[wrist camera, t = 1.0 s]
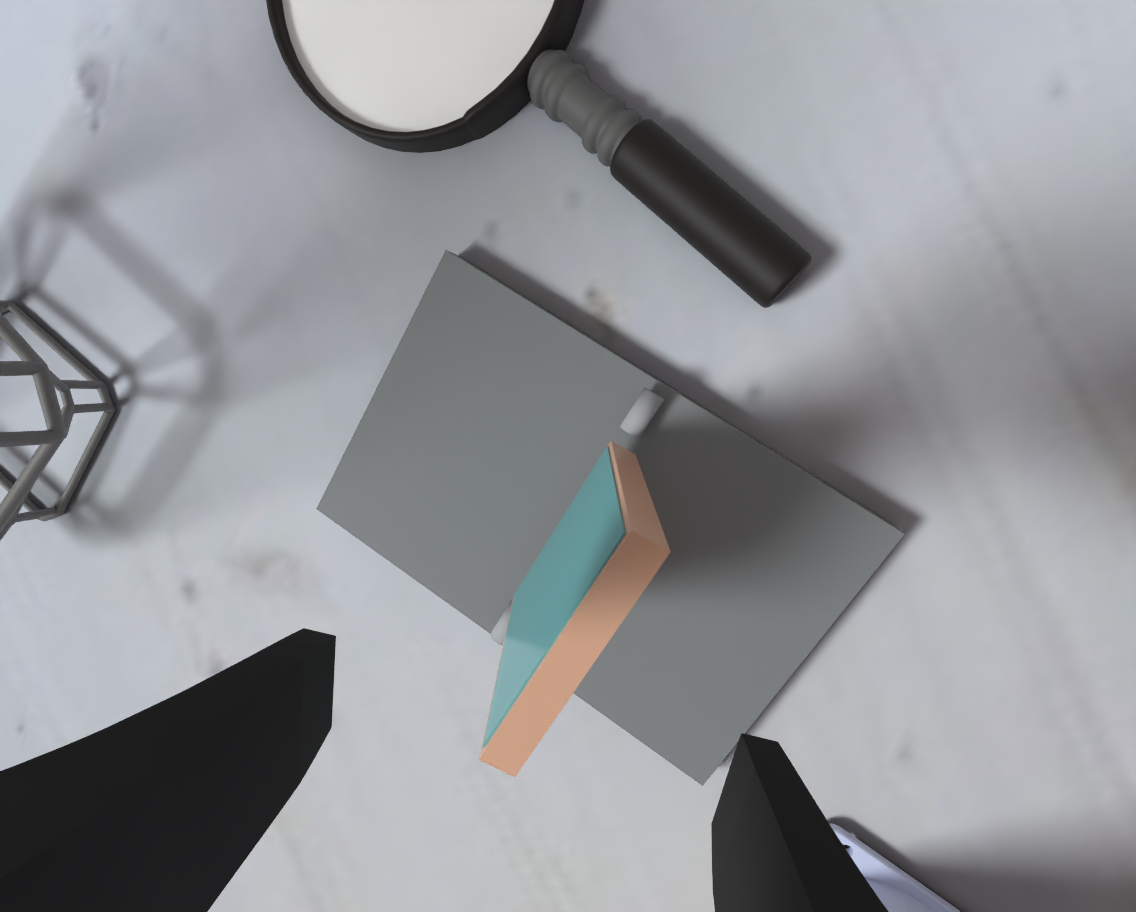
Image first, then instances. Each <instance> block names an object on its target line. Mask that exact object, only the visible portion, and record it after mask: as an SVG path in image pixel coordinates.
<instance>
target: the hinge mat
mask: <svg viewBox="0 0 1136 912" xmlns="http://www.w3.org/2000/svg"><path fill="white" fill-rule="evenodd" d="M610 441H613V442H614V443H616V444H618V445H620V446H621V447H623V448H625V449H627V450H628V451H630V452H632V453H633V454H635V455H636V457H637V460H638V463H639V466H640V468H641V471H642V474H643V477H644V480H645V482H646V485H647V488H648V491H649V493H650V496H651V499H652V502H653V504H654V507H655V510H656V513H657V515H658V518H659V521H660V524H661V526H662V529H663V532H664V535H665V538H666V540H667V543H668V546H669V549H670V551H671V552H670V553H669V555H668V556H667V558H666V559H665V561H664V562H663V564H662V565H661V567H660V568H659V569H658V571H657V572H656V574H655V575H654V577H653V578H652V580H651V581H650V582H649V584H648V585H647V587H646V588H645V590H644V591H643V593H642V594H641V595H640V597H639V598H638V600H637V601H636V603H635V604H634V606H633V607H632V609H631V610H630V611H629V613H628V614H627V616H626V617H625V619H624V620H623V622H622V623H621V624H620V626H619V627H618V629H617V630H616V632H615V633H614V635H613V636H612V637H611V639H610V640H609V642H608V643H607V645H606V646H605V648H604V649H603V650H602V652H601V653H600V655H599V656H598V658H597V659H596V661H595V662H594V664H593V665H592V666H591V668H590V669H589V671H588V672H587V674H586V675H585V677H584V678H583V679H582V681H581V682H580V684H579V685H578V687H577V688H576V690H575V691H574V692H573V693H574V694H575V695H577V696H578V697H580V698H581V699H582V700H584V701H585V702H587V703H588V704H589V705H591V706H592V707H594V708H595V709H596V710H598V711H599V712H600V713H602V714H603V715H605V716H606V717H607V718H609V719H610V720H612V721H613V722H614V723H616V724H617V725H619V726H620V727H621V728H623V729H624V730H626V731H627V732H628V733H630V734H631V735H633V736H634V737H635V738H637V739H638V740H640V741H641V742H642V743H644V744H645V745H647V746H648V747H649V748H651V749H652V750H654V751H655V752H656V753H658V754H659V755H660V756H662V757H663V758H665V759H666V760H667V761H669V762H670V763H672V764H673V765H674V766H676V767H677V768H679V769H680V770H681V771H683V772H684V773H686V774H687V775H688V776H690V777H691V778H693V779H694V780H695V781H697V782H698V783H700V784H701V785H702V786H703V785H704V783H705V782H706V781H707V780H708V778H709V777H710V776H711V775H712V774H713V772H714V771H715V770H716V769H717V767H718V766H719V765H720V764H721V762H722V761H723V760H724V759H725V757H726V756H727V755H728V754H729V752H730V751H731V750H732V749H733V747H734V746H735V745H736V744H737V742H738V741H739V738H740V735H741V733H743V734H745V732H746V731H747V730H748V729H749V727H750V726H751V725H752V724H753V722H754V721H755V720H756V719H757V717H758V716H759V715H760V714H761V712H762V711H763V710H764V709H765V707H766V706H767V705H768V704H769V702H770V701H771V700H772V699H773V697H774V696H775V695H776V694H777V692H778V691H779V690H780V689H781V688H782V686H783V685H784V684H785V683H786V681H787V680H788V679H789V678H790V676H791V675H792V674H793V673H794V671H795V670H796V669H797V668H798V666H799V665H800V664H801V663H802V661H803V660H804V659H805V658H806V656H807V655H808V654H809V653H810V651H811V650H812V649H813V648H814V646H815V645H816V644H817V643H818V641H819V640H820V639H821V638H822V636H823V635H824V634H825V633H826V631H827V630H828V629H829V628H830V626H831V625H832V624H833V623H834V621H835V620H836V619H837V618H838V616H839V615H840V614H841V613H842V611H843V610H844V609H845V608H846V606H847V605H848V604H849V603H850V602H851V600H852V599H853V598H854V597H855V595H856V594H857V593H858V592H859V590H860V589H861V588H862V587H863V585H864V584H865V583H866V582H867V580H868V579H869V578H870V577H871V575H872V574H873V573H874V572H875V570H876V569H877V568H878V567H879V565H880V564H881V563H882V562H883V560H884V559H885V558H886V557H887V555H888V554H889V553H890V552H891V550H892V549H893V548H894V547H895V545H896V544H897V543H898V542H899V540H900V539H901V538H902V537H903V535H904V533H903V532H902V531H900V530H899V529H898V528H897V527H896V526H894V525H892V524H891V523H889V522H887V521H886V520H884V519H883V518H881V517H879V516H878V515H876V514H875V513H873V512H871V511H870V510H868V509H866V508H865V507H863V506H862V505H860V504H858V503H857V502H855V501H854V500H852V499H850V498H849V497H847V496H845V495H844V494H842V493H841V492H839V491H837V490H836V489H834V488H833V487H831V486H829V485H828V484H826V483H824V482H823V481H821V480H820V479H818V478H816V477H815V476H813V475H811V474H810V473H808V472H807V471H805V470H803V469H802V468H800V467H799V466H797V465H795V464H794V463H792V462H790V461H789V460H787V459H786V458H784V457H782V456H781V455H779V454H778V453H776V452H774V451H773V450H771V449H769V448H768V447H766V446H765V445H763V444H761V443H760V442H758V441H757V440H755V439H753V438H752V437H750V436H748V435H747V434H745V433H744V432H742V431H740V430H739V429H737V428H736V427H734V426H732V425H731V424H729V423H727V422H726V421H724V420H723V419H721V418H719V417H718V416H716V415H715V414H713V413H711V412H710V411H708V410H706V409H705V408H703V407H702V406H700V405H698V404H697V403H695V402H694V401H692V400H690V399H689V398H687V397H685V396H684V395H682V394H681V393H679V392H677V391H676V390H674V389H673V388H671V387H669V386H668V385H666V384H664V383H663V382H661V381H660V380H658V379H656V378H655V377H653V376H652V375H650V374H648V373H647V372H645V371H643V370H642V369H640V368H639V367H637V366H635V365H634V364H632V363H631V362H629V361H627V360H626V359H624V358H622V357H621V356H619V355H618V354H616V353H614V352H613V351H611V350H610V349H608V348H606V347H605V346H603V345H601V344H600V343H598V342H597V341H595V340H593V339H592V338H590V337H589V336H587V335H585V334H584V333H582V332H580V331H579V330H577V329H576V328H574V327H572V326H571V325H569V324H568V323H566V322H564V321H563V320H561V319H559V318H558V317H556V316H555V315H553V314H551V313H550V312H548V311H546V310H545V309H543V308H542V307H540V306H538V305H537V304H535V303H534V302H532V301H530V300H529V299H527V298H525V297H524V296H522V295H521V294H519V293H517V292H516V291H514V290H513V289H511V288H509V287H508V286H506V285H504V284H503V283H501V282H500V281H498V280H496V279H495V278H493V277H492V276H490V275H488V274H487V273H485V272H483V271H482V270H480V269H479V268H477V267H475V266H474V265H472V264H471V263H469V262H467V261H466V260H464V259H462V258H461V257H459V256H458V255H456V254H454V253H451V252H449V251H447V250H446V251H445V253H444V255H443V257H442V259H441V261H440V263H439V265H438V267H437V269H436V271H435V273H434V275H433V277H432V279H431V281H430V283H429V285H428V287H427V289H426V291H425V293H424V295H423V297H422V299H421V301H420V303H419V305H418V307H417V309H416V311H415V313H414V315H413V317H412V319H411V321H410V323H409V325H408V327H407V329H406V331H405V333H404V335H403V337H402V339H401V341H400V343H399V345H398V347H397V349H396V351H395V353H394V355H393V357H392V359H391V361H390V363H389V365H388V367H387V369H386V371H385V373H384V375H383V377H382V379H381V381H380V383H379V385H378V387H377V389H376V391H375V393H374V395H373V397H372V399H371V401H370V403H369V405H368V407H367V409H366V411H365V413H364V415H363V417H362V419H361V421H360V423H359V425H358V427H357V429H356V431H355V433H354V435H353V437H352V439H351V441H350V443H349V445H348V447H347V449H346V451H345V453H344V455H343V457H342V459H341V461H340V463H339V465H338V467H337V469H336V471H335V473H334V475H333V477H332V479H331V481H330V483H329V485H328V487H327V489H326V491H325V493H324V495H323V497H322V499H321V501H320V503H319V505H318V507H317V510H319V511H320V512H321V513H323V514H324V515H326V516H327V517H328V518H330V519H331V520H333V521H334V522H335V523H337V524H338V525H340V526H341V527H342V528H344V529H345V530H347V531H348V532H349V533H351V534H352V535H354V536H355V537H356V538H358V539H359V540H361V541H362V542H363V543H365V544H366V545H367V546H369V547H370V548H372V549H373V550H374V551H376V552H377V553H379V554H380V555H381V556H383V557H384V558H386V559H387V560H388V561H390V562H391V563H393V564H394V565H395V566H397V567H398V568H400V569H401V570H402V571H404V572H405V573H407V574H408V575H409V576H411V577H412V578H414V579H415V580H416V581H418V582H419V583H421V584H422V585H423V586H425V587H426V588H427V589H429V590H430V591H432V592H433V593H434V594H436V595H437V596H439V597H440V598H441V599H443V600H444V601H446V602H447V603H448V604H450V605H451V606H453V607H454V608H455V609H457V610H458V611H460V612H461V613H462V614H464V615H465V616H467V617H468V618H469V619H471V620H472V621H474V622H475V623H476V624H478V625H479V626H481V627H482V628H483V629H485V630H486V631H487V632H489V633H490V634H491V637H492V639H493V640H494V641H495V642H497V643H498V644H500V645H503V643H504V639H505V634H506V629H507V624H508V620H509V615H510V610H511V605H512V600H513V596H514V594H515V593H516V591H517V589H518V588H519V586H520V585H521V583H522V581H523V580H524V578H525V577H526V575H527V573H528V572H529V570H530V569H531V567H532V565H533V564H534V562H535V561H536V559H537V557H538V556H539V554H540V553H541V551H542V549H543V548H544V546H545V545H546V543H547V541H548V540H549V538H550V537H551V535H552V533H553V532H554V530H555V529H556V527H557V525H558V524H559V522H560V521H561V519H562V517H563V516H564V514H565V513H566V511H567V509H568V508H569V506H570V505H571V503H572V501H573V500H574V498H575V497H576V495H577V493H578V492H579V490H580V489H581V487H582V485H583V484H584V482H585V481H586V479H587V477H588V476H589V474H590V473H591V471H592V469H593V468H594V466H595V465H596V463H597V461H598V460H599V458H600V457H601V455H602V453H603V452H604V450H605V449H606V447H607V446H608V445H609V443H610Z"/></svg>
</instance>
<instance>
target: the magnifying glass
mask: <svg viewBox="0 0 1136 912" xmlns="http://www.w3.org/2000/svg"><path fill="white" fill-rule="evenodd" d="M266 2H267V8H268V14H269V19H270V23H271V27H272V30H273V34H274V38H275V40H276V43H277V45H278V48H279V50H280V53H281V55H282V58H283V60H284V62H285V64H286V65H287V67H288V69H289V71H290V73H291V75H292V76H293V78H294V79H295V81H296V82H297V83H298V85H299V86H300V88H301V89H302V90H303V92H304V93H305V94H306V95H307V96H308V97H309V98H310V99H311V100H312V102H313V103H314V104H315V105H316V106H317V107H318V108H319V109H320V110H321V111H323V112H324V113H325V114H326V115H328V116H329V117H330V118H332V119H333V120H334V121H335V122H337V123H338V124H340V125H341V126H343V127H344V128H346V129H347V130H349V131H350V132H352V133H354V134H355V135H357V136H359V137H361V138H362V139H364V140H366V141H368V142H371V143H373V144H376V145H378V146H381V147H384V148H388V149H393V150H397V151H402V152H418V153H423V152H434V151H442V150H446V149H450V148H454V147H458V146H461V145H464V144H466V143H469V142H471V141H474V140H476V139H480V138H483V137H485V136H486V135H488V134H490V133H491V132H493V131H495V130H496V129H498V128H499V127H501V126H502V125H503V124H505V123H506V122H507V121H508V120H510V119H511V118H512V117H514V116H515V115H516V114H517V113H518V112H519V111H520V110H521V109H522V108H524V107H525V106H526V105H527V104H528V103H529V102H530V101H531V100H532V102H533V103H534V105H535V106H537V107H538V108H540V109H545V112H546V114H547V115H548V117H549V118H550V119H552V120H553V121H555V122H561V121H563V122H564V123H565V124H566V125H567V126H568V127H570V128H571V129H572V130H573V131H574V132H575V133H577V134H578V135H579V136H580V137H581V138H582V143H583V146H584V148H585V149H586V150H587V151H588V152H590V153H597V155H598V159H599V161H600V162H601V163H602V164H603V165H605V166H610V171H611V174H612V176H613V177H614V178H615V179H616V180H617V181H618V182H619V183H620V184H622V185H623V186H624V187H625V188H626V189H627V190H628V191H630V192H631V193H632V194H633V195H634V196H635V197H636V198H638V199H639V200H640V201H641V202H642V203H643V204H645V205H646V206H647V207H648V208H649V209H650V210H651V211H653V212H654V213H655V214H656V215H657V216H658V217H659V218H661V219H662V220H663V221H664V222H665V223H666V224H668V225H669V226H670V227H671V228H672V229H673V230H674V231H676V232H677V233H678V234H679V235H680V236H681V237H682V238H684V239H685V240H686V241H687V242H688V243H689V244H691V245H692V246H693V247H694V248H695V249H696V250H697V251H699V252H700V253H701V254H702V255H703V256H704V257H705V258H707V259H708V260H709V261H710V262H711V263H712V264H713V265H715V266H716V267H717V268H718V269H719V270H720V271H722V272H723V273H724V274H725V275H726V276H727V277H728V278H730V279H731V280H732V281H733V282H734V283H735V284H736V285H738V286H739V287H740V288H741V289H742V290H743V291H745V292H746V293H747V294H748V295H749V296H750V297H751V298H753V299H754V300H755V301H756V302H757V303H758V304H760V305H761V306H762V307H769V306H771V305H772V304H773V303H774V302H775V301H776V300H777V299H778V298H779V297H780V296H781V295H782V294H783V293H784V292H785V290H786V289H787V288H788V287H789V286H790V285H791V284H792V283H793V282H794V281H795V280H796V279H797V278H798V277H799V275H800V274H801V273H802V272H803V271H804V270H805V269H806V267H807V266H808V265H809V264H810V262H811V256H810V254H809V253H808V252H807V251H805V250H804V249H803V248H802V247H801V246H800V245H798V244H797V243H796V242H795V241H794V240H792V239H791V238H790V237H789V236H788V235H787V234H785V233H784V232H783V231H782V230H781V229H779V228H778V227H777V226H776V225H775V224H774V223H772V222H771V221H770V220H769V219H768V218H767V217H765V216H764V215H763V214H762V213H761V212H759V211H758V210H757V209H756V208H755V207H754V206H752V205H751V204H750V203H749V202H748V201H746V200H745V199H744V198H743V197H742V196H741V195H739V194H738V193H737V192H736V191H735V190H734V189H732V188H731V187H730V186H729V185H728V184H726V183H725V182H724V181H723V180H722V179H721V178H719V177H718V176H717V175H716V174H715V173H713V172H712V171H711V170H710V169H709V168H708V167H706V166H705V165H704V164H703V163H702V162H701V161H699V160H698V159H697V158H696V157H695V156H693V155H692V154H691V153H690V152H689V151H688V150H686V149H685V148H684V147H683V146H682V145H680V144H679V143H678V142H677V141H676V140H675V139H673V138H672V137H671V136H670V135H669V134H668V133H666V132H665V131H664V130H663V129H662V128H660V127H659V126H658V125H657V124H656V123H654V122H653V121H651V120H648V119H647V120H643V121H642V118H641V116H640V114H639V113H638V112H636V111H635V110H633V109H627V108H626V104H625V102H624V101H623V100H622V99H621V98H620V97H618V96H610V97H609V96H608V95H607V94H606V93H604V92H603V91H602V90H601V89H600V88H599V87H597V86H596V85H595V84H594V83H593V82H591V81H590V80H589V75H588V72H587V70H586V69H585V67H584V66H582V65H581V64H579V63H573V59H572V57H571V56H570V55H569V54H568V53H567V52H566V51H565V50H566V48H567V46H568V44H569V42H570V40H571V38H572V35H573V33H574V30H575V27H576V24H577V22H578V19H579V16H580V13H581V10H582V6H583V2H584V0H266Z"/></svg>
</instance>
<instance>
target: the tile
mask: <svg viewBox="0 0 1136 912" xmlns="http://www.w3.org/2000/svg"><path fill="white" fill-rule="evenodd" d="M670 552H671V551H670V549H669V546H668V543H667V540H666V538H665V535H664V532H663V529H662V526H661V524H660V521H659V518H658V515H657V513H656V510H655V507H654V504H653V502H652V499H651V496H650V493H649V491H648V488H647V485H646V482H645V480H644V477H643V474H642V471H641V468H640V466H639V463H638V460H637V457H636V455H635V454H633V453H632V452H630V451H628V450H627V449H625V448H623V447H621V446H620V445H618V444H616V443H614V442H613V441H610V443H609V445H608V446H607V447H606V449H605V450H604V452H603V453H602V455H601V457H600V458H599V460H598V461H597V463H596V465H595V466H594V468H593V469H592V471H591V473H590V474H589V476H588V477H587V479H586V481H585V482H584V484H583V485H582V487H581V489H580V490H579V492H578V493H577V495H576V497H575V498H574V500H573V501H572V503H571V505H570V506H569V508H568V509H567V511H566V513H565V514H564V516H563V517H562V519H561V521H560V522H559V524H558V525H557V527H556V529H555V530H554V532H553V533H552V535H551V537H550V538H549V540H548V541H547V543H546V545H545V546H544V548H543V549H542V551H541V553H540V554H539V556H538V557H537V559H536V561H535V562H534V564H533V565H532V567H531V569H530V570H529V572H528V573H527V575H526V577H525V578H524V580H523V581H522V583H521V585H520V586H519V588H518V589H517V591H516V593H515V594H514V596H513V600H512V605H511V610H510V615H509V620H508V624H507V629H506V634H505V639H504V643H503V648H502V653H501V658H500V663H499V667H498V672H497V677H496V682H495V686H494V691H493V696H492V701H491V705H490V710H489V715H488V720H487V725H486V729H485V734H484V739H483V744H482V748H481V753H480V758H479V760H481V761H483V762H485V763H487V764H489V765H491V766H493V767H495V768H497V769H499V770H501V771H503V772H505V773H507V774H509V775H511V776H514V777H515V776H516V775H517V774H518V772H519V771H520V769H521V768H522V766H523V765H524V763H525V762H526V760H527V759H528V758H529V756H530V755H531V753H532V752H533V750H534V749H535V747H536V746H537V745H538V743H539V742H540V740H541V739H542V737H543V736H544V734H545V733H546V732H547V730H548V729H549V727H550V726H551V724H552V723H553V721H554V720H555V719H556V717H557V716H558V714H559V713H560V711H561V710H562V708H563V707H564V705H565V704H566V703H567V701H568V700H569V698H570V697H571V695H572V694H573V692H574V691H575V690H576V688H577V687H578V685H579V684H580V682H581V681H582V679H583V678H584V677H585V675H586V674H587V672H588V671H589V669H590V668H591V666H592V665H593V664H594V662H595V661H596V659H597V658H598V656H599V655H600V653H601V652H602V650H603V649H604V648H605V646H606V645H607V643H608V642H609V640H610V639H611V637H612V636H613V635H614V633H615V632H616V630H617V629H618V627H619V626H620V624H621V623H622V622H623V620H624V619H625V617H626V616H627V614H628V613H629V611H630V610H631V609H632V607H633V606H634V604H635V603H636V601H637V600H638V598H639V597H640V595H641V594H642V593H643V591H644V590H645V588H646V587H647V585H648V584H649V582H650V581H651V580H652V578H653V577H654V575H655V574H656V572H657V571H658V569H659V568H660V567H661V565H662V564H663V562H664V561H665V559H666V558H667V556H668V555H669V553H670Z"/></svg>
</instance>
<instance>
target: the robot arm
mask: <svg viewBox="0 0 1136 912" xmlns="http://www.w3.org/2000/svg"><path fill="white" fill-rule="evenodd" d="M335 642H336V636H334V635H330V634H325V633H321V632H317V631H313V630H309V629H305V628H304V629H301V630H299V631H297V632H295V633H293V634H291V635H289V636H287V637H285V638H284V639H282V640H280V641H278V642H276V643H274V644H272V645H270V646H268V647H267V648H265V649H263V650H261V651H259V652H257V653H255V654H253V655H252V656H250V657H248V658H246V659H244V660H242V661H240V662H238V663H237V664H235V665H233V666H231V667H229V668H227V669H225V670H223V671H221V672H219V673H217V674H216V675H214V676H212V677H210V678H208V679H206V680H204V681H202V682H200V683H198V684H196V685H194V686H192V687H191V688H189V689H187V690H185V691H183V692H181V693H179V694H177V695H175V696H172V697H170V698H168V699H166V700H164V701H162V702H160V703H158V704H156V705H154V706H151V707H149V708H147V709H145V710H143V711H141V712H139V713H137V714H135V715H133V716H130V717H128V718H126V719H124V720H122V721H120V722H118V723H116V724H114V725H112V726H109V727H107V728H105V729H103V730H100V731H98V732H96V733H94V734H91V735H89V736H87V737H84V738H82V739H80V740H77V741H75V742H73V743H70V744H68V745H66V746H63V747H61V748H58V749H56V750H53V751H51V752H48V753H46V754H43V755H41V756H38V757H36V758H33V759H31V760H28V761H26V762H23V763H21V764H18V765H16V766H13V767H10V768H8V769H5V770H3V771H0V912H207V911H208V910H209V909H210V907H211V906H212V904H213V903H214V902H215V900H216V899H217V898H218V896H219V895H220V893H221V892H222V891H223V889H224V888H225V887H226V885H227V884H228V882H229V881H230V880H231V878H232V877H233V876H234V874H235V873H236V871H237V870H238V869H239V867H240V866H241V865H242V863H243V862H244V860H245V859H246V858H247V856H248V855H249V854H250V852H251V851H252V849H253V848H254V847H255V845H256V844H257V843H258V841H259V840H260V838H261V837H262V836H263V834H264V833H265V832H266V830H267V829H268V827H269V826H270V825H271V823H272V822H273V820H274V819H275V818H276V816H277V815H278V813H279V812H280V811H281V809H282V808H283V806H284V805H285V804H286V802H287V801H288V800H289V798H290V797H291V795H292V794H293V792H294V791H295V790H296V788H297V787H298V785H299V784H300V782H301V781H302V779H303V777H304V775H305V774H306V772H307V770H308V769H309V767H310V765H311V763H312V762H313V760H314V758H315V756H316V755H317V753H318V751H319V749H320V747H321V746H322V744H323V742H324V740H325V738H326V736H327V735H328V733H329V731H330V729H331V727H332V706H333V685H334V664H335ZM843 845H848V846H850V847H849V848H848V849H845V847H844V846H843ZM712 875H713V896H714V905H715V912H961V911H959V910H958V909H956V908H955V907H954V906H952V905H951V904H949V903H948V902H946V901H945V900H944V899H942V898H941V897H939V896H938V895H937V894H935V893H934V892H932V891H931V890H929V889H928V888H927V887H925V886H924V885H922V884H921V883H919V882H918V881H917V880H915V879H914V878H912V877H911V876H909V875H908V874H907V873H905V872H904V871H902V870H901V869H899V868H898V867H897V866H895V865H894V864H892V863H891V862H890V861H888V860H887V859H885V858H884V857H882V856H881V855H880V854H878V853H877V852H875V851H874V850H872V849H871V848H870V847H868V846H867V845H865V844H864V843H862V842H861V841H860V840H858V839H857V838H855V837H854V836H853V835H851V834H850V833H848V832H847V831H845V830H844V829H843V828H841V827H840V826H838V825H836V824H830V823H828V821H827V820H826V818H825V816H824V815H823V813H822V812H821V810H820V808H819V807H818V805H817V804H816V802H815V800H814V799H813V797H812V796H811V794H810V792H809V791H808V789H807V788H806V786H805V784H804V783H803V781H802V780H801V778H800V776H799V775H798V773H797V771H796V770H795V768H794V767H793V765H792V763H791V762H790V760H789V759H788V757H787V755H786V754H785V752H784V751H783V749H782V748H781V746H780V744H779V743H778V742H776V741H772V740H768V739H764V738H760V737H756V736H751V735H747V734H743V733H741V735H740V738H739V741H738V744H737V747H736V750H735V753H734V757H733V760H732V763H731V766H730V769H729V772H728V775H727V778H726V781H725V784H724V787H723V790H722V793H721V796H720V800H719V803H718V806H717V809H716V812H715V815H714V818H713V821H712Z"/></svg>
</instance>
